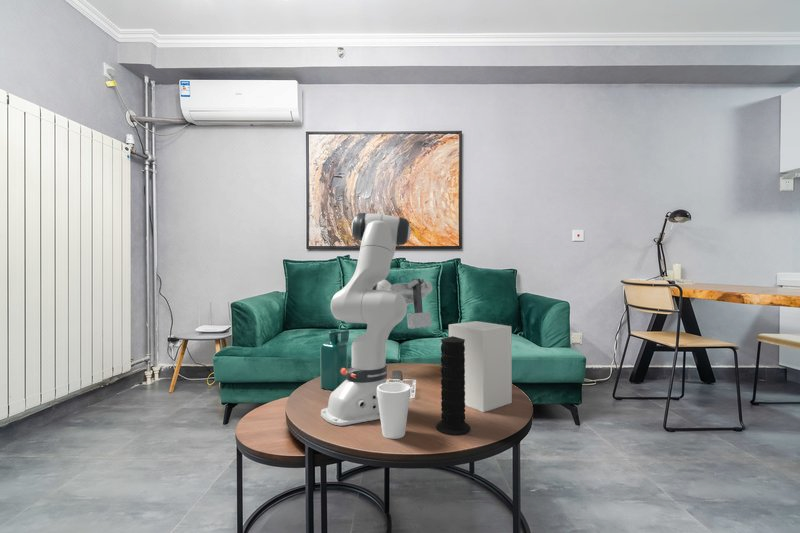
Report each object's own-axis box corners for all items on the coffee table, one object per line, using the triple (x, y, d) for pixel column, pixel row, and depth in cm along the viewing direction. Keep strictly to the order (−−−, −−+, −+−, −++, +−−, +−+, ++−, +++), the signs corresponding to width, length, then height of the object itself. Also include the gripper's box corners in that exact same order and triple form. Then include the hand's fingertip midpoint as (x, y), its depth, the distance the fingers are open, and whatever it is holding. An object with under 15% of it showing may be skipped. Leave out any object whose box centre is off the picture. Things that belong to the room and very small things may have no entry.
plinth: (483, 412, 125) (483, 330, 125) (448, 398, 138) (448, 324, 138) (511, 402, 134) (511, 326, 133) (476, 390, 146) (476, 321, 146)
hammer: (407, 328, 161) (412, 328, 158) (404, 279, 162) (408, 279, 160) (426, 326, 167) (431, 326, 164) (423, 279, 168) (427, 278, 166)
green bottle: (318, 388, 151) (317, 330, 151) (331, 382, 158) (331, 327, 158) (339, 391, 146) (338, 332, 146) (352, 385, 154) (351, 329, 154)
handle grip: (429, 424, 116) (446, 438, 107) (429, 334, 116) (446, 340, 107) (458, 418, 120) (477, 431, 111) (458, 332, 120) (477, 337, 111)
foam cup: (379, 442, 104) (379, 393, 104) (374, 428, 113) (374, 383, 113) (414, 439, 106) (414, 391, 106) (406, 425, 115) (406, 381, 115)
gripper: (381, 290, 167) (397, 274, 157) (419, 288, 179) (436, 273, 169) (385, 303, 164) (402, 288, 154) (423, 301, 176) (441, 286, 166)
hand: (420, 280), depth 162 cm, fingers closed on hammer, 2 cm apart
